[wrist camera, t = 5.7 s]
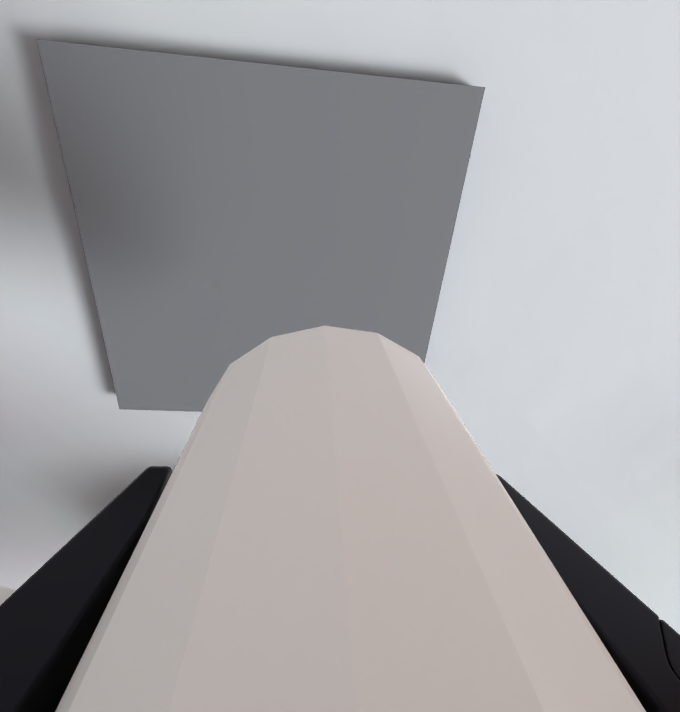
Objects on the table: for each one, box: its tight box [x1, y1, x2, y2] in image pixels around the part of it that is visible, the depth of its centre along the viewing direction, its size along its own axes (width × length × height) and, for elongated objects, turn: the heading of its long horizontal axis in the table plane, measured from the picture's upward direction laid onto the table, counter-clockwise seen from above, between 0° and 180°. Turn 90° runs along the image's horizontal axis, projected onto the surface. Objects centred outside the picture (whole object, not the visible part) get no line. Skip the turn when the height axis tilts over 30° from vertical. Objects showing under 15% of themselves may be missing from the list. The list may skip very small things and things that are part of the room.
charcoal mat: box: [37, 39, 485, 412], centre depth 19 cm, size 15×15×1 cm
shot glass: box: [55, 326, 646, 712], centre depth 7 cm, size 7×7×7 cm
